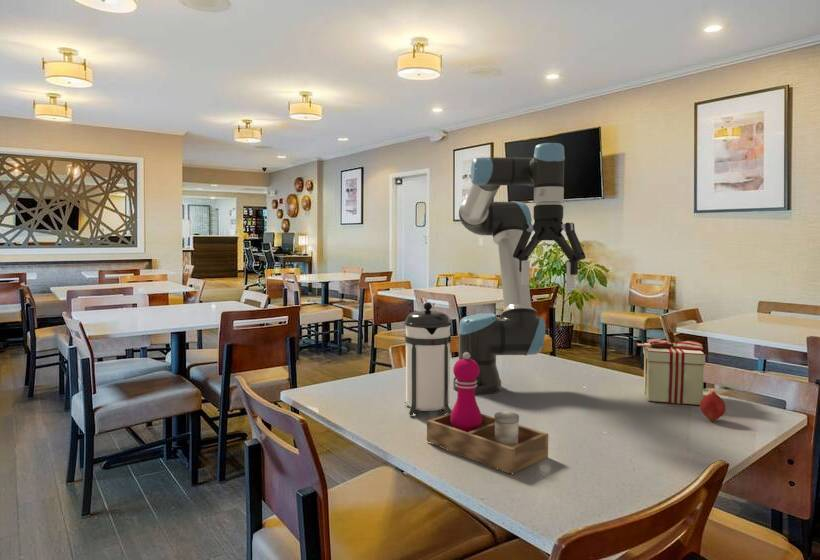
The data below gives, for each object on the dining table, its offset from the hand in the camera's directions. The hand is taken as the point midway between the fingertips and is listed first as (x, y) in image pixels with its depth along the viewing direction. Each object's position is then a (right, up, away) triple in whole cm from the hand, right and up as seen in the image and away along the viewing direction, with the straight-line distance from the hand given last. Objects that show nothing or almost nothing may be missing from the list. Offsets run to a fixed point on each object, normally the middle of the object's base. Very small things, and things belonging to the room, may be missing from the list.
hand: (547, 286), depth 143 cm
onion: (+42, -35, -2) cm, 55 cm away
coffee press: (-32, -34, +8) cm, 47 cm away
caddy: (-19, -36, -21) cm, 46 cm away
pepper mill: (-23, -35, -17) cm, 45 cm away
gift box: (+42, -34, +21) cm, 57 cm away
